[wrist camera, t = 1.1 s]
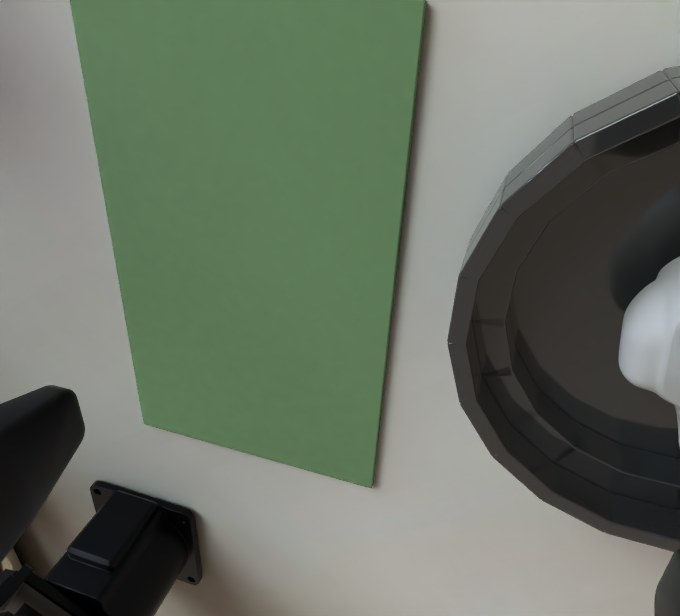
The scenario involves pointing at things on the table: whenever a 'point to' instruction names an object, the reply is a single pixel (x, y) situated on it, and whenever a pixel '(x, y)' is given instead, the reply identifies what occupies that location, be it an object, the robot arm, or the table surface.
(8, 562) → the toy food set
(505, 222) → the pan
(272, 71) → the cloth
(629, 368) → the white animal figurine
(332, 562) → the table surface
